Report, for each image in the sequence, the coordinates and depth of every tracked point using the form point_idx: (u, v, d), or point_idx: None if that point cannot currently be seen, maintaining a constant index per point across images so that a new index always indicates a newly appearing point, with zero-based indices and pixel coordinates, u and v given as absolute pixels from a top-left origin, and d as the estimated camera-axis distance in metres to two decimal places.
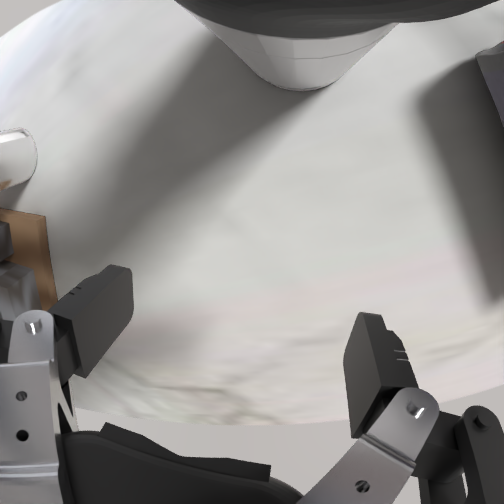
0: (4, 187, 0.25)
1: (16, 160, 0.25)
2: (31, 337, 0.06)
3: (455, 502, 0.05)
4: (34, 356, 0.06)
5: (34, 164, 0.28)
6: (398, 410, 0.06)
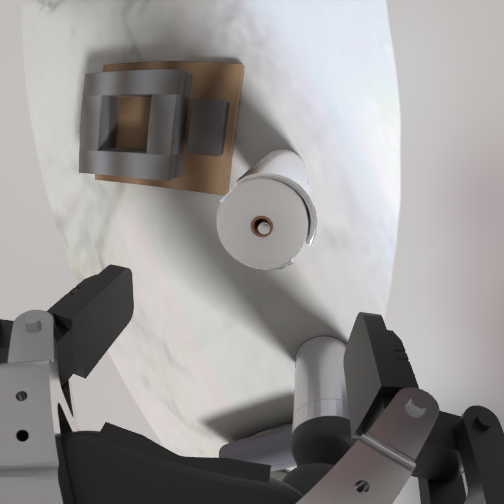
0: None
1: None
2: (32, 337, 0.06)
3: (455, 502, 0.05)
4: (34, 356, 0.06)
5: None
6: (398, 410, 0.06)
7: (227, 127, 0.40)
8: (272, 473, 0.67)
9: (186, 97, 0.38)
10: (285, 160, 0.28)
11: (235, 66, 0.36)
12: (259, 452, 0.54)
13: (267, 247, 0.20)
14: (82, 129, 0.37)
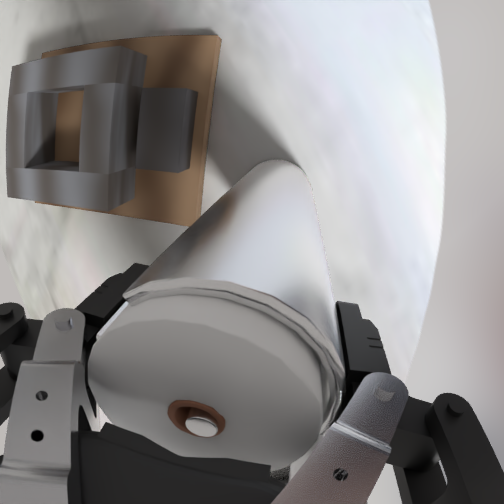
0: None
1: None
2: (61, 336, 0.06)
3: (435, 490, 0.05)
4: (69, 355, 0.06)
5: None
6: (364, 393, 0.06)
7: (195, 128, 0.27)
8: None
9: (137, 87, 0.25)
10: (276, 191, 0.15)
11: (208, 39, 0.23)
12: None
13: (216, 451, 0.07)
14: (8, 140, 0.24)
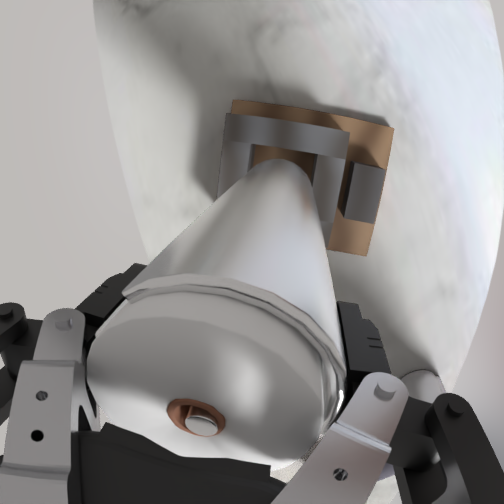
0: None
1: None
2: (61, 336, 0.06)
3: (435, 489, 0.05)
4: (69, 355, 0.06)
5: None
6: (364, 393, 0.06)
7: None
8: None
9: None
10: (277, 189, 0.15)
11: (387, 130, 0.36)
12: None
13: (216, 451, 0.07)
14: (221, 180, 0.37)
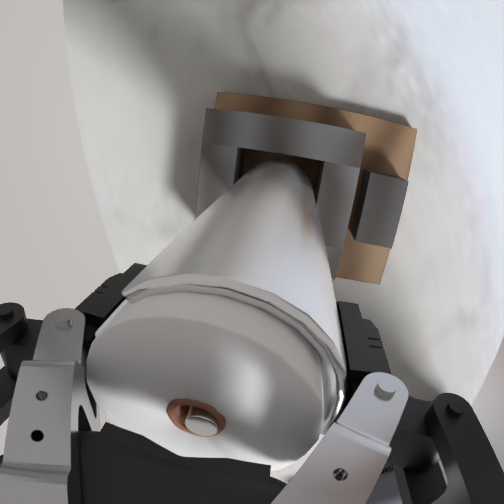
0: None
1: None
2: (61, 336, 0.06)
3: (435, 489, 0.05)
4: (69, 355, 0.06)
5: None
6: (364, 393, 0.06)
7: None
8: None
9: None
10: (277, 189, 0.15)
11: (409, 131, 0.29)
12: None
13: (216, 451, 0.07)
14: (201, 194, 0.29)
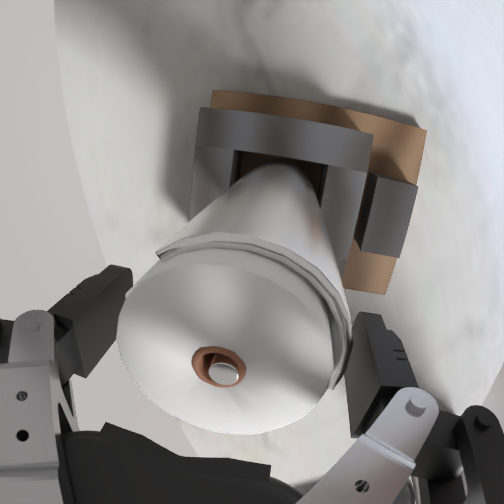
0: None
1: None
2: (32, 337, 0.06)
3: (455, 502, 0.05)
4: (35, 356, 0.06)
5: None
6: (397, 410, 0.06)
7: None
8: None
9: None
10: (282, 180, 0.16)
11: (418, 132, 0.26)
12: None
13: (235, 404, 0.08)
14: (194, 200, 0.27)
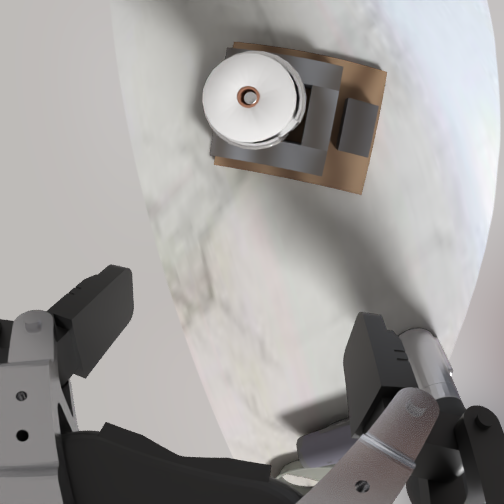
0: None
1: None
2: (32, 337, 0.06)
3: (455, 502, 0.05)
4: (34, 356, 0.06)
5: None
6: (398, 410, 0.06)
7: None
8: None
9: None
10: None
11: (381, 73, 0.36)
12: (343, 442, 0.55)
13: (253, 118, 0.18)
14: None
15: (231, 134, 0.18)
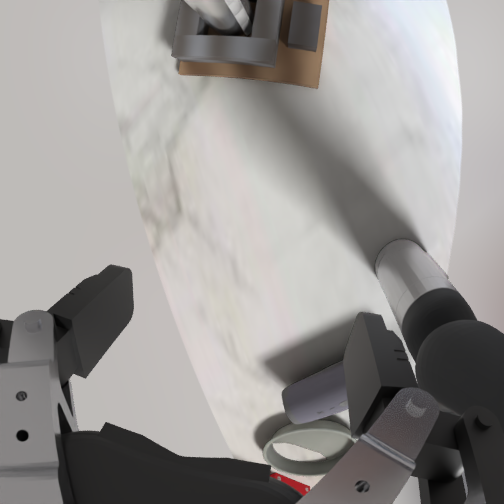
0: None
1: (227, 35, 0.37)
2: (32, 337, 0.06)
3: (455, 502, 0.05)
4: (34, 356, 0.06)
5: None
6: (398, 410, 0.06)
7: (319, 30, 0.38)
8: (329, 426, 0.65)
9: (283, 2, 0.36)
10: None
11: None
12: (333, 384, 0.52)
13: None
14: (180, 17, 0.35)
15: None
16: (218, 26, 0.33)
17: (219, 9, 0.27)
